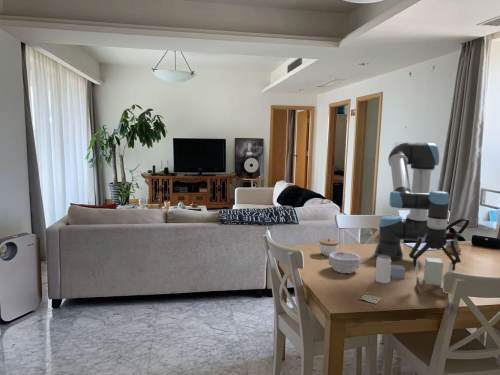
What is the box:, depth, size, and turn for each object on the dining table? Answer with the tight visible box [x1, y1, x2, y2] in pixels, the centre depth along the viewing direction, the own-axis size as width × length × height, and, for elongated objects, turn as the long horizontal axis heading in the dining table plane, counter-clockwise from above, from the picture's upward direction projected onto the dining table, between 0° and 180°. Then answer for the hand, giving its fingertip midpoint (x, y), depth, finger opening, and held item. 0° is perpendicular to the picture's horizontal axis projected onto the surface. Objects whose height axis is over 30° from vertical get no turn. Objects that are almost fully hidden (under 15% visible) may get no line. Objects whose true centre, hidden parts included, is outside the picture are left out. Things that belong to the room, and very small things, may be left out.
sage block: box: [423, 256, 444, 286], centre depth 160 cm, size 6×6×10 cm
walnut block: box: [415, 276, 450, 298], centre depth 161 cm, size 11×11×4 cm
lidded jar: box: [318, 238, 339, 256], centre depth 212 cm, size 11×11×9 cm
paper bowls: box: [328, 251, 361, 274], centre depth 185 cm, size 15×15×8 cm
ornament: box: [444, 236, 462, 255], centre depth 219 cm, size 8×6×10 cm
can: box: [374, 255, 392, 285], centre depth 171 cm, size 6×6×12 cm
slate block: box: [390, 264, 406, 280], centre depth 178 cm, size 5×5×5 cm
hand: (432, 275), depth 160 cm, fingers open, 13 cm apart
